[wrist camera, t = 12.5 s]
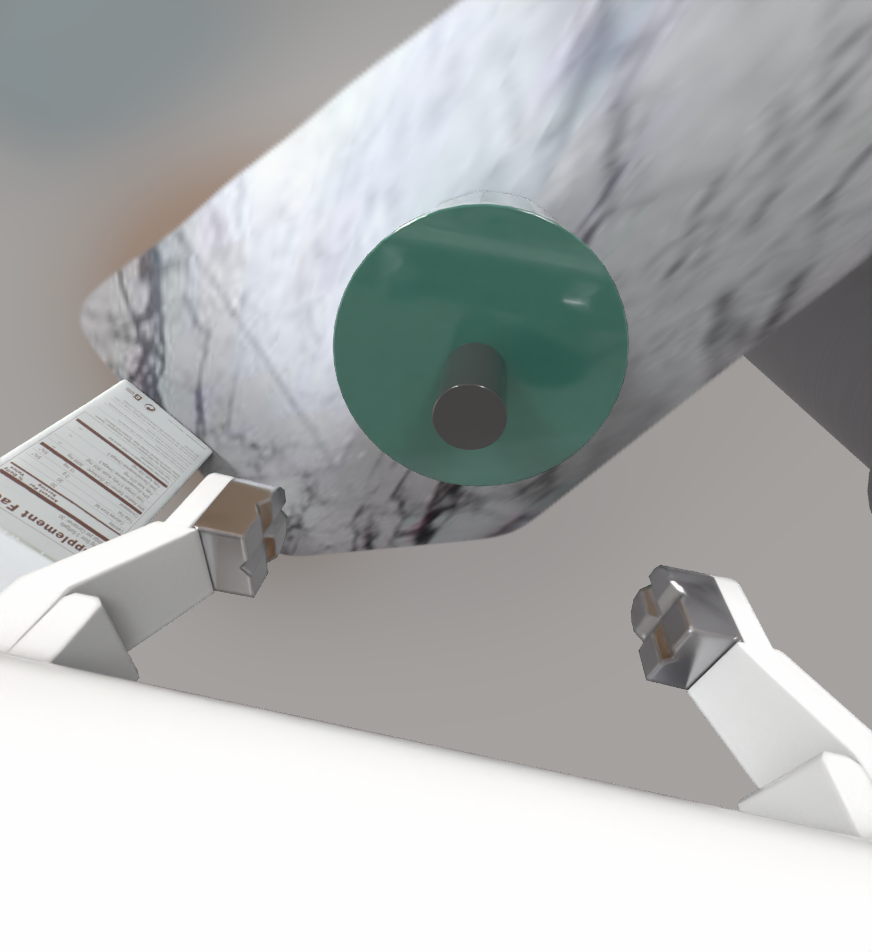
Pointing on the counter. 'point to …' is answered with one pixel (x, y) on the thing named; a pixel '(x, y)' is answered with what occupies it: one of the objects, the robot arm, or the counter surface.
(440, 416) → the lid
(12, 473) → the white packaging box
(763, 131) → the counter surface
